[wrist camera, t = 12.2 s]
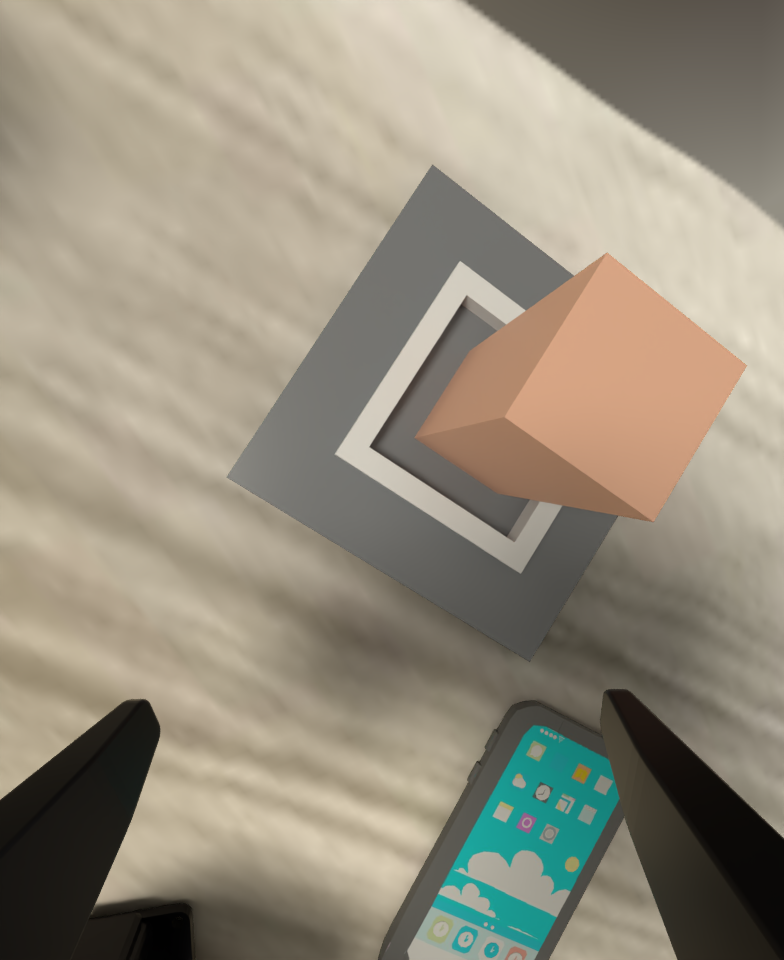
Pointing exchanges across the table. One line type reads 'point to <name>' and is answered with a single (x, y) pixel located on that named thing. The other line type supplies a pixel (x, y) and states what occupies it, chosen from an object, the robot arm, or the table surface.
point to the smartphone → (513, 846)
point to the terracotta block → (586, 398)
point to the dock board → (402, 411)
